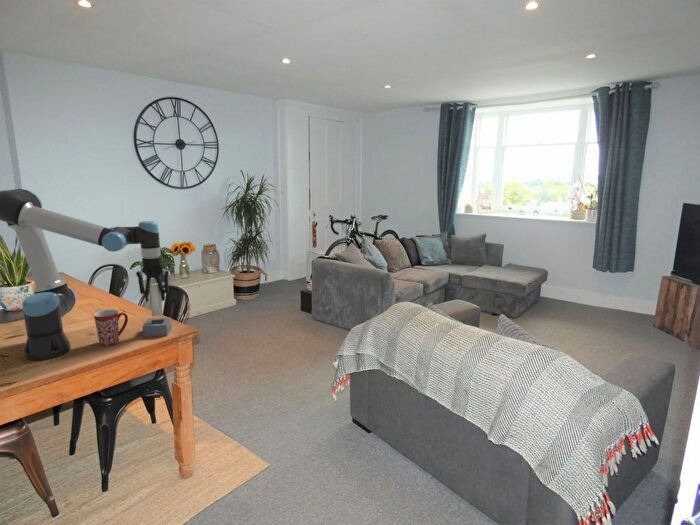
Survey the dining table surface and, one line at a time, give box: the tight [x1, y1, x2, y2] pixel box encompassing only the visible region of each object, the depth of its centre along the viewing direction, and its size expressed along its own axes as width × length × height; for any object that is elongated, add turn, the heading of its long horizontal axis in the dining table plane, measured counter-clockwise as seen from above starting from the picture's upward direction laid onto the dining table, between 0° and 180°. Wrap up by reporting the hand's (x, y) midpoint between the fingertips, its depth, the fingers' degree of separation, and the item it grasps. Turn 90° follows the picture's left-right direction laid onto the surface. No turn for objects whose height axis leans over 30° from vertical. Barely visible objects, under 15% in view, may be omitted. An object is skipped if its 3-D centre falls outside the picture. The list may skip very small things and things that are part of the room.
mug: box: [93, 309, 129, 347], centre depth 179 cm, size 13×9×14 cm
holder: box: [141, 317, 173, 338], centre depth 191 cm, size 10×10×5 cm
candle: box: [149, 283, 163, 317], centre depth 188 cm, size 4×4×15 cm
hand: (156, 307), depth 189 cm, fingers closed on candle, 4 cm apart
